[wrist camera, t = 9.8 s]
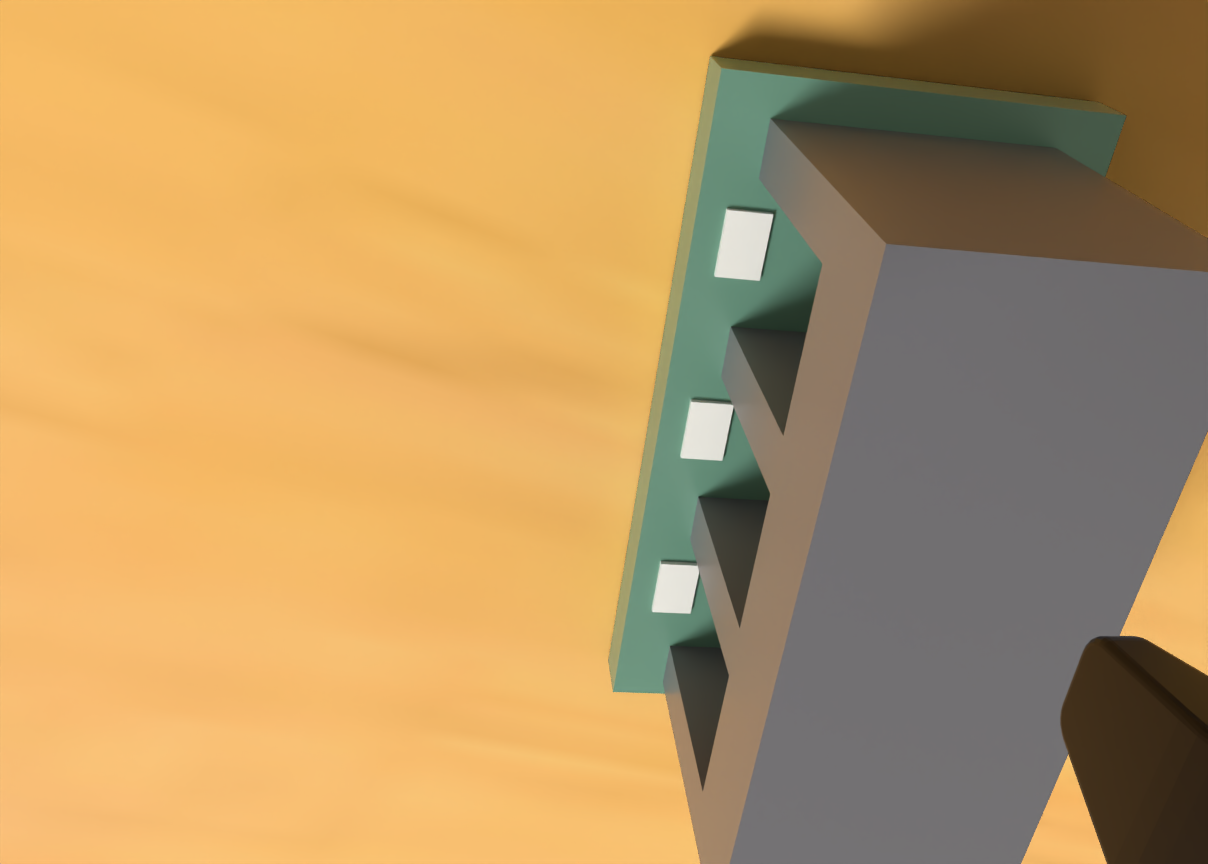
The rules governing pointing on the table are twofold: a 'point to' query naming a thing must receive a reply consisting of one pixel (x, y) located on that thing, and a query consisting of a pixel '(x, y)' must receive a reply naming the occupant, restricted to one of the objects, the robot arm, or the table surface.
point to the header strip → (767, 305)
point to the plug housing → (933, 496)
